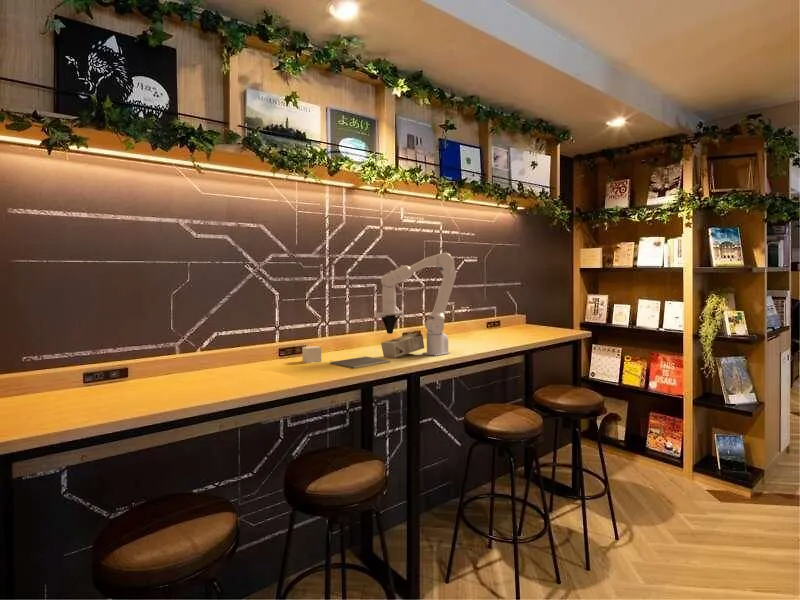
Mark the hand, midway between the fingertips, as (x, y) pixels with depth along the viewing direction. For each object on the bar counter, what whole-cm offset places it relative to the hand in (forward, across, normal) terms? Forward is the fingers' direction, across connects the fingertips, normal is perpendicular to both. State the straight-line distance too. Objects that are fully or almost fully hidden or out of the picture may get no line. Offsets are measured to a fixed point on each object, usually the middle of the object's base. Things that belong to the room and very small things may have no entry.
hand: (389, 333), depth 196 cm
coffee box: (+7, +3, +2) cm, 8 cm away
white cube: (+10, +29, -16) cm, 35 cm away
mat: (+10, +18, +2) cm, 21 cm away
